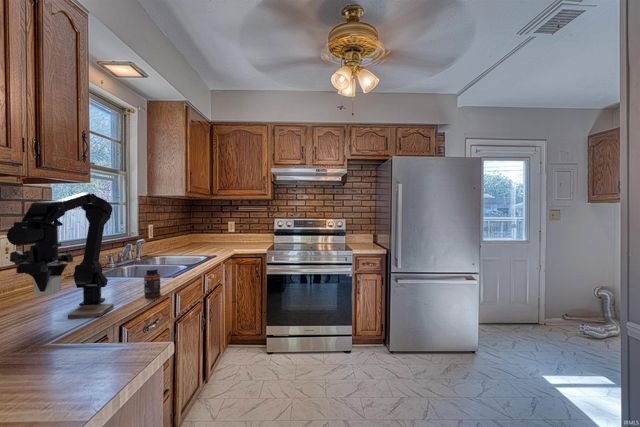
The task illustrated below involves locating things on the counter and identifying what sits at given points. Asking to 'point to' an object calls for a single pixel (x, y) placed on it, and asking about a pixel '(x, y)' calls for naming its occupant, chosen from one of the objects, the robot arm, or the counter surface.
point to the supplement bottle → (152, 283)
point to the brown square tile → (90, 310)
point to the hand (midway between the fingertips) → (47, 289)
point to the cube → (48, 286)
